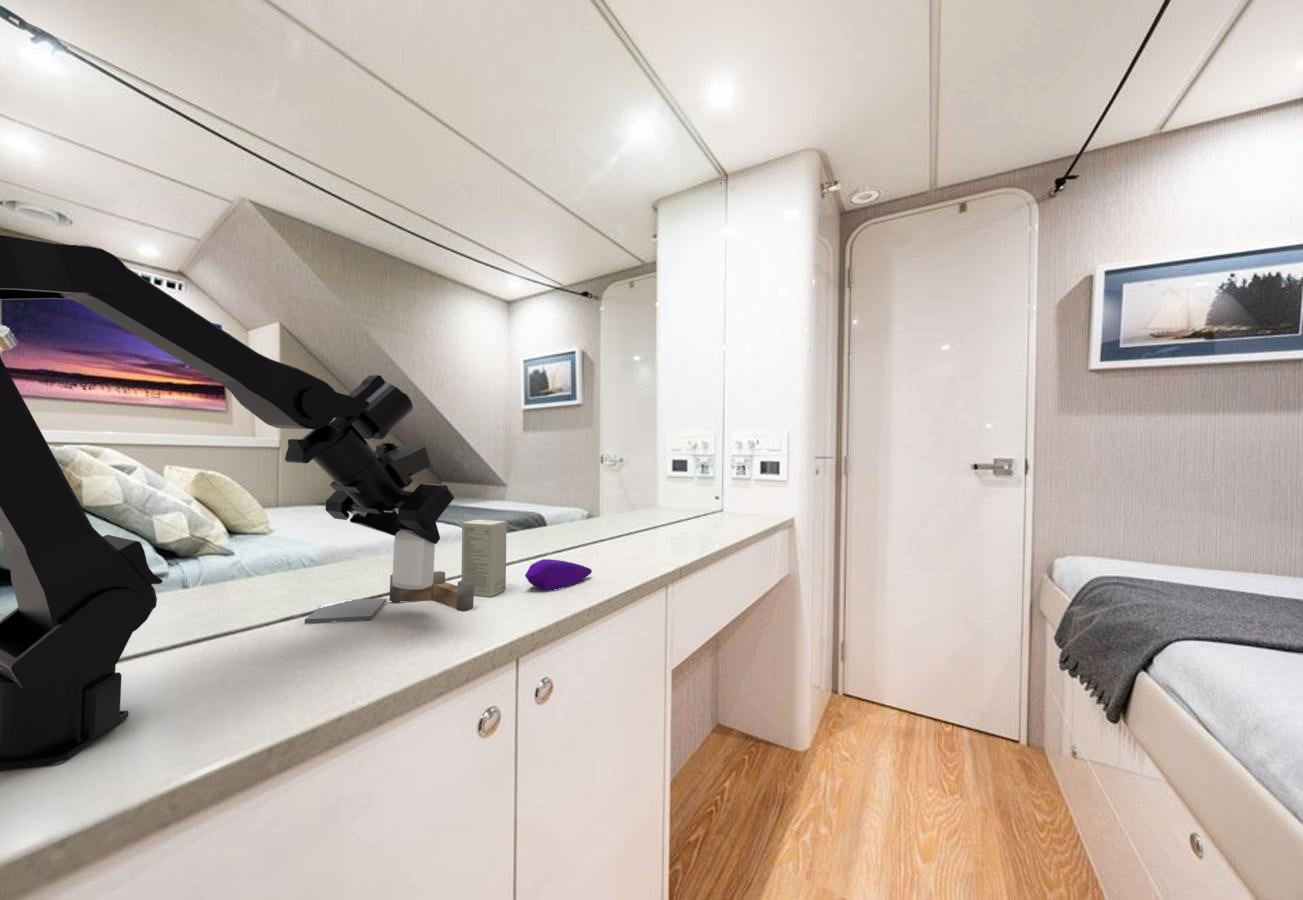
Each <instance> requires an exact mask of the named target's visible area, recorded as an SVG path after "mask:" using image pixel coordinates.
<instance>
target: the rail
mask: <svg viewBox="0 0 1303 900" xmlns="http://www.w3.org/2000/svg"><path fill="white" fill-rule="evenodd" d="M392 575H393V574H391V575H389V576H390V577H389V600H390V601H392V602H400V601H411V602H423V601H434V602H436V603H440V604H442V605H444V606H447V607H450V608H453V609H456V611H461V612H466V611H467V612H468V611H470V610H473V609H474V602H475V601H474V599H475V598H474V597H475V595H474V581H473V580H462V581H461V580H459V581H457V584H456V585H455V584H453V583H449V582H447V581H446V572H445V571H443V570H442V571H441V570H438V571H434V575H433V585H432V586H430V587H427V588H425V589H420V590H411V589H401V588H397V587H395V586H393V584H392ZM400 603H401V602H400Z"/></svg>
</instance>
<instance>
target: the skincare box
mask: <svg viewBox="0 0 1303 900" xmlns="http://www.w3.org/2000/svg"><path fill="white" fill-rule="evenodd" d="M506 579H507V520H496V519H495V520H493V519H482V518H481V519H480V518H479V519H472V520H468V521H467V520H466V521H464V522H463V521H462V522H461V580H460V581H462V580H473V581H474V596H479V597H490V598H492V597H494V596H496V595H498V594H500V593H503V592H504V591H506V587H507V586H506V585H507V581H506Z"/></svg>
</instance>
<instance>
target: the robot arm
mask: <svg viewBox="0 0 1303 900" xmlns="http://www.w3.org/2000/svg"><path fill="white" fill-rule="evenodd" d="M47 299H48V300H71V301H73V302H76V303H79V304H80V305H82V306H83V307H85V308H87V309H89V310H91V311H93V312H94V313H96V314H98V315H100V316H101V317H103V318H104V319H107V320H108V321H110V322H112V323H114V324H116V325H117V326H118V327H121V328H122V329H124V330H126V331H128V332H130V333H132V334H133V335H135V336H137V337H138V338H140V339H142V340H144V341H145V342H147V343H149V344H150V345H153V346H154V347H156V348H158V349H160V350H161V351H163V352H165V353H167V354H168V355H170V356H172V357H174V358H175V359H177V360H179V361H181V362H183V363H184V364H186V365H188V366H189V367H191V368H193V369H195V370H197V371H198V372H200V373H201V374H204V375H206V376H207V377H208V378H211V379H212V380H214V381H216V382H217V383H219V384H220V385H222V386H223V388H225V389H226V390H228V391H229V392H230V393H231V394H232V395H233V397H234V398H235V399H236V401H237V402H238V403H239V404H240V405H241V406H243V407H244V409H246V410H248V412H250V413H251V414H253V415H254V416H256V417H257V418H258V419H259V420H261V421H262V422H263V423H264V424H266V425H268V426H271V427H273V428H276V429H281V430H282V429H287V430H311V431H309V432H308V433H307V434H306V435H305V436H303V437H301V438H299V439H298V438H290V439H288V440H287V450H286V452H285V457H284V461H285V462H287V463H295V464H309V463H310V462H311V461H312V460H313V461H314V462H315V464H317V465H318V466H319V467H320V468H321V470H323V472H325V473H326V474H327V475H328V476H329V477H330V478H331V479H332V480H333V481H332V482H331V483H330V484H329V486H330V487H331V488H332V489H333V490H334V492H333V493H332V494H331V495H330V496H329V498H327V499H326V500H325V508H324V509H325V511H326V513H328V514H329V515H330V516H331V517H332V518H333V519H334V520H343V521H347V520H348V519H349V518H350V519H349V522H350V523H352V524H355V525H359V526H362V527H364V528H365V527H366V528H368V529H371V530H375V531H378V532H381V533H383V534H387V535H390V536H393V537H395V535H396V533H397V532H399V531H401V530H402V531H405V532H407V533H409V534H412V535H414V536H416V537H419V538H421V539H423V540H426V541H428V542H431V543H433V544H435V545H437V544H438V542H439V541H440V540H441V537H440V532H439V528H438V526H437V521H438V520H439V518H440V517H441V516H442V514H443V513H444V512H445V510H446V509H447V508H448V507H449V506H450V504H451V503H452V501H453V500H454V499H455V494H454V493H453V491H452V490H451V489H450V488H449V487H448V485H447V484H436V483H420V484H419V485H418V486H417V487H416V488H415V489H414V491H408V490H405V488H408V487H409V486H410V485H411V484H412V483H413V482H414V479H413V478H412V477H411V476H414V475H416V474H418V473H419V472H421V471H423V470H425V469H427V470H428V469H430V468H431V467H432V466H433V463H432V460H431V458H430V455H429V452H428V449H427V446H426V445H425V444H403V445H401V444H399V445H396V444H395V443H393V442H389V441H388V442H381V443H380V444H377V445H376V446H375V450H374V449H373V447H372V446H371V445H370V444H369V443H368V441H367V440H371V439H375V440H384V438H385V437H387V436H388V435H389V434H390V433H391V432H392V431H393V430H394V429H395V428H396V427H397V426H398V425H399V424H400V423H401V422H402V421H403V420H404V419H405V418H406V417H407V416H408V415H409V414H410V413H411V412H412V411H413V407H414V406H413V402H412V400H411V399H410V397H409V395H407V393H405V392H403V391H402V390H401V389H399V388H398V386H395V385H393V383H390V382H387V381H386V380H385V379H384V378H383V376H382V375H380V374H378V375H377V374H376V375H368V376H366V377H365V379H363V380H362V382H361V383H360V384H359V385H358V386H357V387H356V388H355V389H353V390H352V391H351V392H349V394H344V393H342V392H337V391H336V390H335V389H334V387H333V386H331V385H330V384H329V383H328V382H327V381H325V380H323V379H321V378H319V377H317V376H315V375H312V374H310V373H308V372H306V371H304V370H302V369H300V368H297V367H295V366H291V365H289V364H287V363H283V362H280V361H277V360H274V359H272V358H269V357H268V356H265V355H263V354H260V353H259V352H258V351H255V349H253V348H251V347H249V346H248V345H246V344H245V343H243V342H242V341H240V339H238V338H236V337H235V336H232V334H230V333H228V332H227V331H225V330H223V329H222V328H220V327H219V326H217V325H216V324H214V323H213V322H211V321H210V320H208V319H206V317H203V316H202V315H200V314H199V313H197V312H196V311H194V310H193V309H191V308H190V307H188V306H187V305H185V304H184V303H182V302H181V301H179V300H178V299H176V298H175V297H173V296H171V295H170V294H168V293H167V292H166V291H164V290H163V289H161V288H159V287H158V286H156V285H155V284H153V283H152V282H150V281H149V280H147V279H146V278H144V277H143V276H141V275H140V274H138V273H136V272H135V271H133V270H132V269H130V268H129V267H128V266H126V265H125V264H124V262H123V261H122V260H120V259H119V257H117V256H115V255H114V254H113V253H111V252H109V251H108V250H105V249H103V248H101V247H97V246H95V245H89V244H64V243H63V244H62V243H54V242H49V241H48V242H47V241H41V240H36V239H35V240H34V239H29V238H22V237H17V236H11V235H3V234H0V301H1V300H2V301H4V300H5V301H7V300H8V301H9V300H13V301H14V300H47ZM396 509H398V510H397V511H396ZM350 515H352V516H351V517H350ZM0 533H1V535H2V537H3V539H4V540H5V541H6V543H7V545H8V550H9V561H10V562H9V563H10V579H11V580H10V581H11V584H12V589H13V592H14V595H15V599H16V603H17V606H18V607H17V608H15V609H14V610H13V611H11V612H10V613H9V614H7V615H6V616H5V617H3V618H2V619H1V620H0V770H5V769H14V768H22V767H32V766H40V765H49V764H57V763H60V762H63V761H64V760H68V759H69V758H70V757H71V756H73V755H75V754H77V752H80V751H81V750H82V749H83V748H85V747H87V746H88V745H89V744H91V743H92V742H94V741H95V740H97V739H98V738H99V737H101V736H103V734H105V733H107V732H108V731H109V730H111V729H113V728H114V727H116V726H118V725H119V724H120V723H121V722H123V721H124V720H126V719H127V718H128V717H129V712H130V711H129V710H128V709H127V710H121V694H122V674H121V673H120V672H116V667H117V666H116V665H117V664H118V662H119V660H121V659H120V658H121V657H122V655H123V653H124V650H125V648H126V646H127V645H128V642H129V641H130V639H131V636H132V634H134V632H136V631H137V630H138V629H140V627H141V626H142V625H143V624H144V623H145V622H146V621H147V620H148V618H149V617H150V615H151V614H152V612H153V611H154V609H155V608H156V607H157V603H158V602H157V601H158V598H157V597H158V596H157V593H156V589H155V588H154V586H153V585H160V584H162V583H163V579H161V578H160V577H159V576H157V575H155V574H154V573H153V571H152V570H151V569H150V567H149V564H148V561H147V555H146V551H145V549H144V547H143V545H142V543H141V541H139V540H134V539H130V538H129V539H128V538H126V537H125V538H124V537H120V536H115V535H111V534H106V535H101V534H100V533H99V532H98V530H96V529H95V527H93V525H92V523H91V522H90V519H89V518H88V516H87V514H86V513H85V511H84V509H83V506H82V504H81V503H80V501H79V500H78V497H77V496H76V494H75V492H74V490H73V489H72V486H71V485H70V483H69V481H68V479H67V477H66V476H65V473H64V472H63V470H62V468H61V466H60V465H59V462H58V461H57V459H56V457H55V455H54V453H53V452H52V449H51V448H50V446H49V445H48V442H47V441H46V438H45V437H44V435H43V433H42V431H41V430H40V428H39V426H38V424H37V422H36V421H35V418H34V417H33V415H32V412H31V410H30V409H29V407H28V405H27V403H26V401H25V400H24V398H23V396H22V394H21V393H20V391H19V389H18V388H17V386H16V383H15V381H14V379H13V378H12V375H11V374H10V372H9V370H8V368H7V367H6V365H5V363H4V361H3V359H2V356H1V354H0Z"/></svg>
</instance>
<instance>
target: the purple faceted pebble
mask: <svg viewBox="0 0 1303 900" xmlns="http://www.w3.org/2000/svg"><path fill="white" fill-rule="evenodd" d="M592 573H593V571H592V569H591V568H590V567H587V566H584V565H582V564H579V563H574V562H571V561H570V562H569V561H566V560H559V559H549V558H546V559H544V558H543V559H541V560H538V561H536V562H533V563H531V564H530V566H529V568H528V570H527V571H526V573H525V575H524V577H525V578H526V579H527V581H528V582H529V584H530V585H532V586H533V587H535V588H537V589H539V590H542V591H548V592H550V591H549V590H552V591H555V590H554V589H558V590H560V589H559V588H562V587H565V588H567V587H566V586H568V587H570V586H569V585H571V586H573V585H572V584H574V585H576V584H578V583H580V582H581V581H583V580H585V579H586V578H587V577H589V575H591V574H592ZM575 583H576V584H575ZM562 589H563V588H562Z"/></svg>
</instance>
